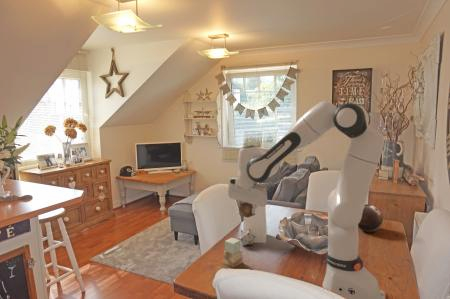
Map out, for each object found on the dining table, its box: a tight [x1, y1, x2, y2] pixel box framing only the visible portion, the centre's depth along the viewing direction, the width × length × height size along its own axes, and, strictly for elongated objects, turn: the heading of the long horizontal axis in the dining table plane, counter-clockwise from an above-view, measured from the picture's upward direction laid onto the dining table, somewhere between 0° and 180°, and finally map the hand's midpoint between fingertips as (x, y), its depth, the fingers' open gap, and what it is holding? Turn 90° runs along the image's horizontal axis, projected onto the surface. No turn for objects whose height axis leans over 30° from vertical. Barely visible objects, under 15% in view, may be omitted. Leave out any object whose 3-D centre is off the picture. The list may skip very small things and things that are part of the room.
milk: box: [242, 205, 268, 244], centre depth 173 cm, size 12×12×26 cm
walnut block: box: [238, 202, 255, 218], centre depth 145 cm, size 5×5×5 cm
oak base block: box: [223, 249, 243, 268], centre depth 148 cm, size 6×6×6 cm
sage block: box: [224, 237, 241, 254], centre depth 147 cm, size 5×5×5 cm
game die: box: [237, 229, 256, 248], centre depth 166 cm, size 9×8×10 cm
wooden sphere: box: [358, 203, 384, 233], centre depth 181 cm, size 15×15×15 cm
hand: (247, 211), depth 145 cm, fingers closed on walnut block, 5 cm apart
